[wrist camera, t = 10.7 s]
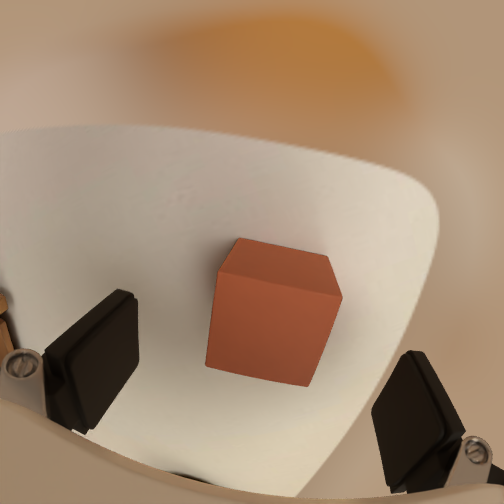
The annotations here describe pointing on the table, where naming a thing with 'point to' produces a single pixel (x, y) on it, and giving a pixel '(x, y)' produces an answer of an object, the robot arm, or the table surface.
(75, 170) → the table surface
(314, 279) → the block
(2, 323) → the drawer
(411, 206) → the table surface
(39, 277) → the table surface
